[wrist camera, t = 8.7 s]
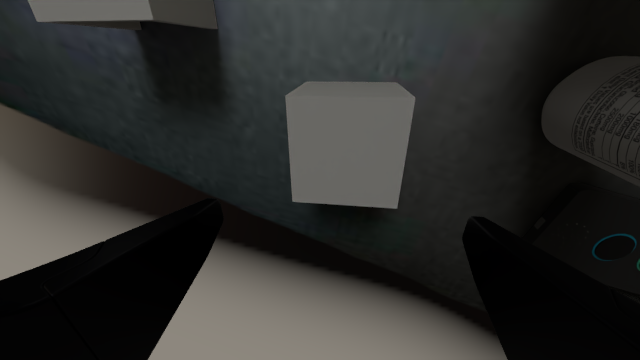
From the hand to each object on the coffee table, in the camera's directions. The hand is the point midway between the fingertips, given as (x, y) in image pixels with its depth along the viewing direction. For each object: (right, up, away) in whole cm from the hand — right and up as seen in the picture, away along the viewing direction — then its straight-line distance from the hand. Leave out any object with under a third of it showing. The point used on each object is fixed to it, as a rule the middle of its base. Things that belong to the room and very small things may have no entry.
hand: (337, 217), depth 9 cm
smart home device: (+28, -4, +13) cm, 31 cm away
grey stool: (+2, +6, +11) cm, 12 cm away
